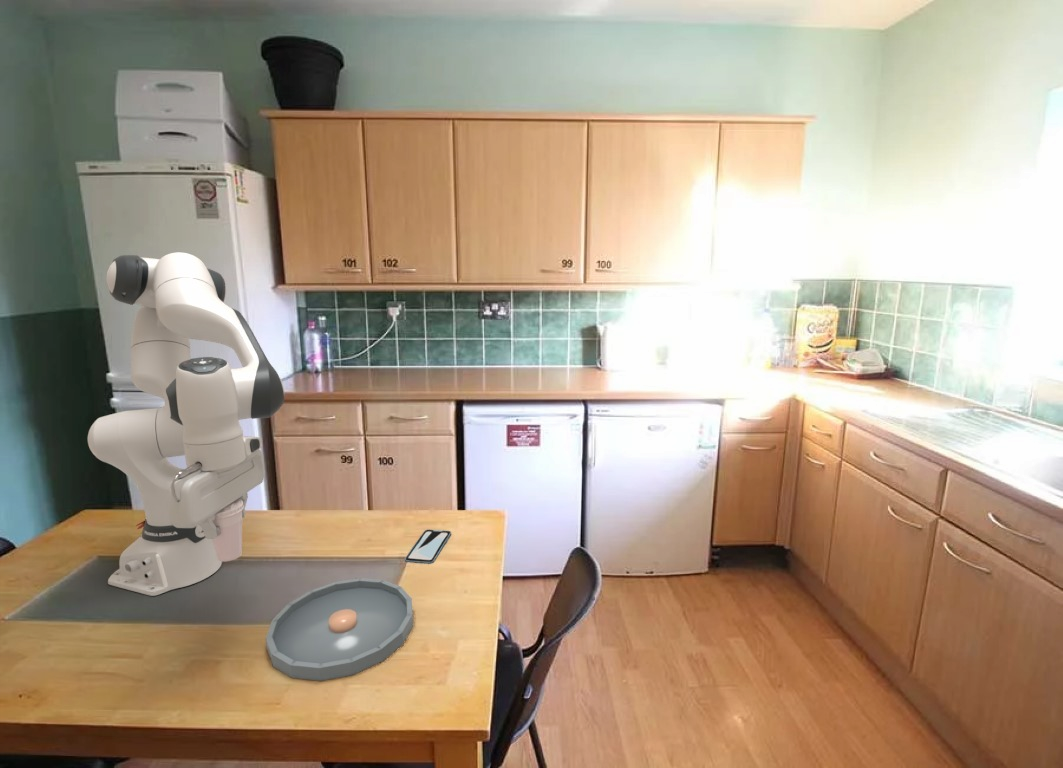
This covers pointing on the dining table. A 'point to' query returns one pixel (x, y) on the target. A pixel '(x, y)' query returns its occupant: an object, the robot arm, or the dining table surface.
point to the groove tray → (340, 629)
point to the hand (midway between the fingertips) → (226, 527)
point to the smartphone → (428, 546)
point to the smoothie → (229, 531)
